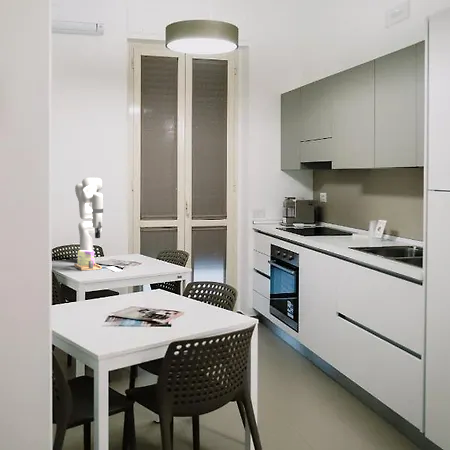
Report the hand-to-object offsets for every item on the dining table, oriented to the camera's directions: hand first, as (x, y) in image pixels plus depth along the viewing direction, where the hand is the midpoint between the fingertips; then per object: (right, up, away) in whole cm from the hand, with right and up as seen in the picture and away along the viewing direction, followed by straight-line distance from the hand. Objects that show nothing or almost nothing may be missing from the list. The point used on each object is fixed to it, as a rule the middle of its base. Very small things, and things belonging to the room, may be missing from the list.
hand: (97, 238), depth 403 cm
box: (-12, -21, +18) cm, 31 cm away
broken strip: (+10, -22, +10) cm, 26 cm away
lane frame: (-10, -22, +15) cm, 28 cm away
